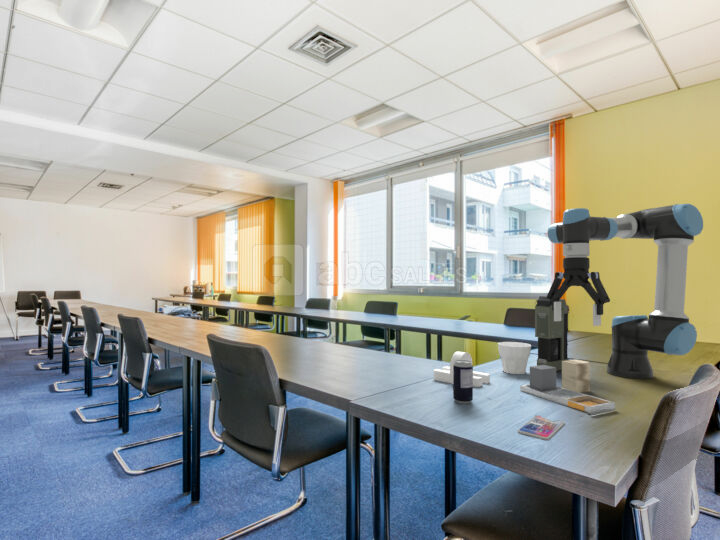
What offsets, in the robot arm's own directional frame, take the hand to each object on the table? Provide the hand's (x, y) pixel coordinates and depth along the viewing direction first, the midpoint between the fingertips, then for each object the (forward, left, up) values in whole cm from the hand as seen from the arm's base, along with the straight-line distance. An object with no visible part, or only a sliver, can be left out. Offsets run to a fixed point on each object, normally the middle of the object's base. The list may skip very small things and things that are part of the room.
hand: (576, 323), depth 130 cm
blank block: (+9, -5, -22) cm, 25 cm away
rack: (+9, +2, -23) cm, 25 cm away
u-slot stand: (+23, -29, -23) cm, 43 cm away
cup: (-6, -32, -23) cm, 40 cm away
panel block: (-3, -3, -23) cm, 23 cm away
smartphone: (+34, +15, -24) cm, 44 cm away
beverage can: (+38, -10, -23) cm, 45 cm away
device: (-21, -27, -23) cm, 41 cm away
